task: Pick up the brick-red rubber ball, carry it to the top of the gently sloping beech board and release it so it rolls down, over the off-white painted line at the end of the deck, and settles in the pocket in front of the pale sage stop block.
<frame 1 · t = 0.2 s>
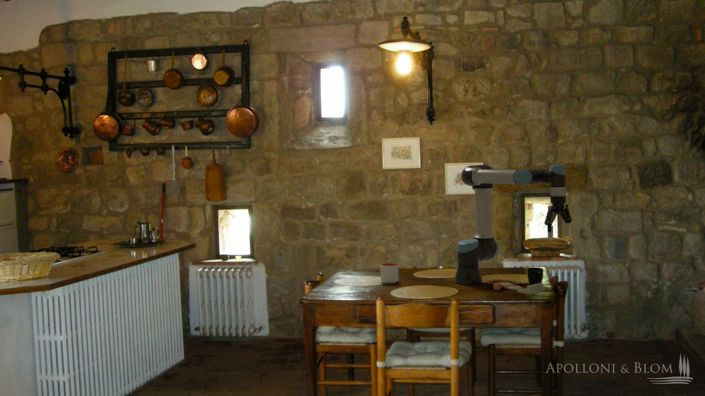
hand: (558, 237, 344), 28 cm above the table, fingers open, 13 cm apart
cup: (389, 282, 381), on the table
line: (524, 290, 348), on the table
stop block: (535, 292, 343), on the table
ball: (497, 286, 350), point 2 cm above the table
mug: (536, 287, 356), on the table
ramp: (509, 288, 355), on the table
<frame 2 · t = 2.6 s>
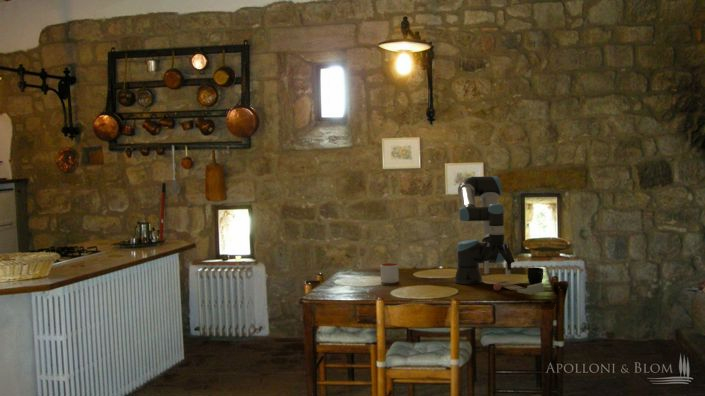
hand: (497, 274, 349), 8 cm above the table, fingers open, 13 cm apart
nothing on the table moved.
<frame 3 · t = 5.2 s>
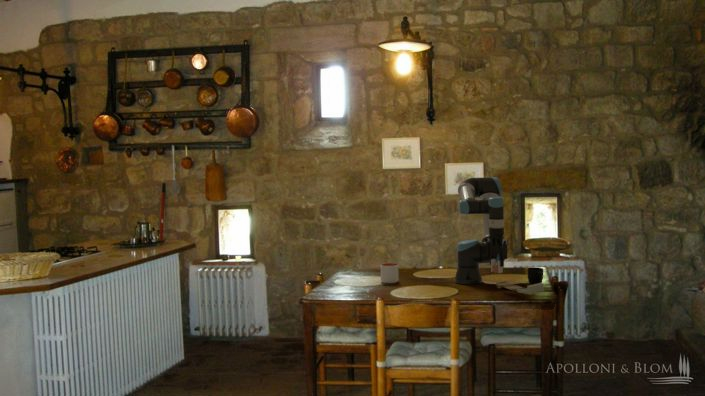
hand: (496, 272, 349), 10 cm above the table, fingers closed on ball, 4 cm apart
ball: (496, 269, 349), point 11 cm above the table, touching gripper
everything else where it was.
when the fingers open (3 cm above the table, at t = 7.0 s): ball stays where it is, resting on ramp.
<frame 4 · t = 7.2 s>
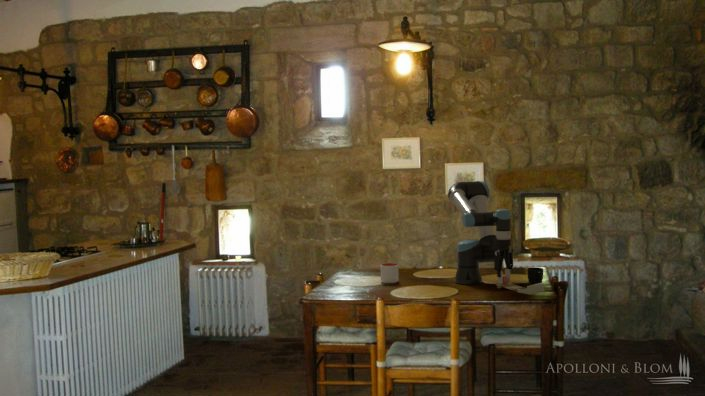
hand: (504, 282, 357), 3 cm above the table, fingers open, 6 cm apart
ball: (505, 280, 356), point 4 cm above the table, tilted 21°, touching ramp
everything else where it was.
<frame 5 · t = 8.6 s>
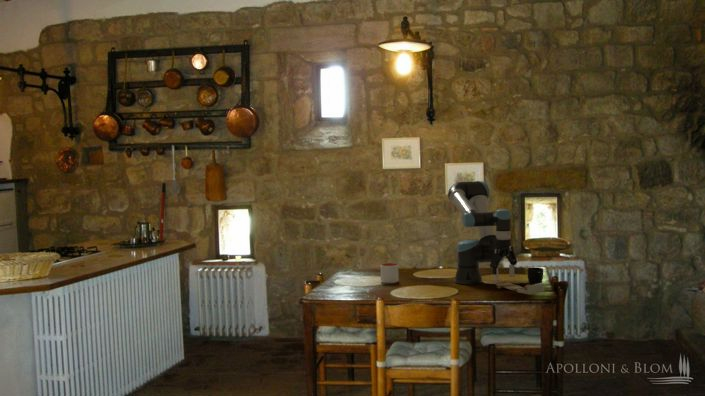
hand: (504, 278, 357), 5 cm above the table, fingers open, 13 cm apart
ball: (528, 288, 344), point 2 cm above the table, tilted 129°
everything else where it was.
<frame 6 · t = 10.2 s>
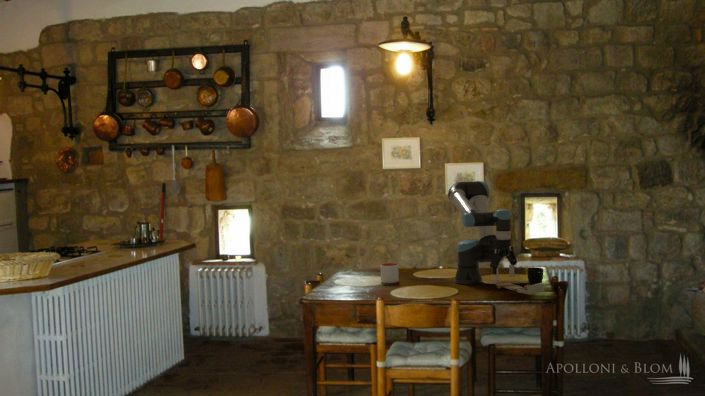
hand: (504, 278, 357), 5 cm above the table, fingers open, 13 cm apart
ball: (528, 288, 344), point 2 cm above the table, tilted 124°
everything else where it was.
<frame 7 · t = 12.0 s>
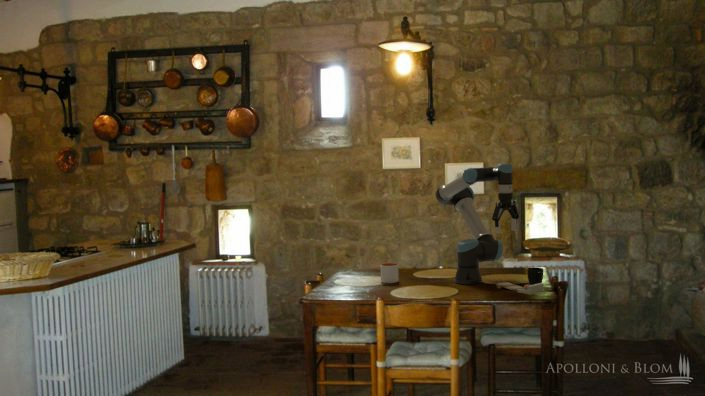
hand: (505, 232, 363), 29 cm above the table, fingers open, 13 cm apart
ball: (527, 288, 344), point 2 cm above the table, tilted 119°
everything else where it was.
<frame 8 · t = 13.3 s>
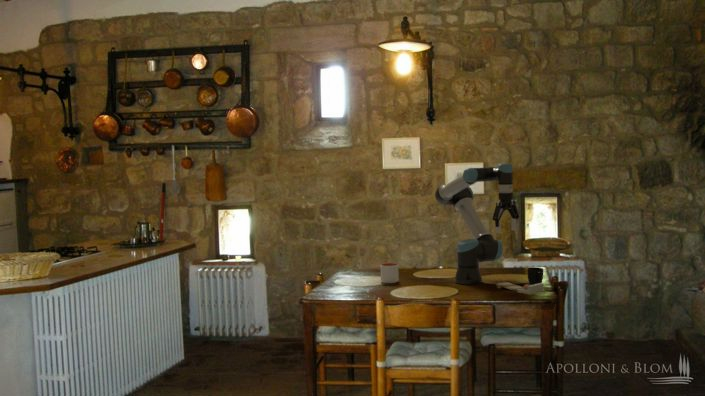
hand: (506, 231, 363), 29 cm above the table, fingers open, 13 cm apart
nothing on the table moved.
at the end: ball inside the target area (1.7 cm from its centre), point 2.0 cm above the table; the gripper is holding nothing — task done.
